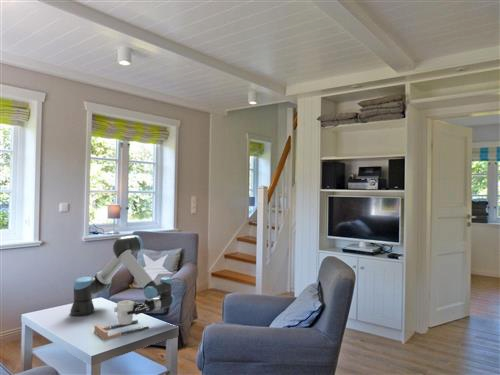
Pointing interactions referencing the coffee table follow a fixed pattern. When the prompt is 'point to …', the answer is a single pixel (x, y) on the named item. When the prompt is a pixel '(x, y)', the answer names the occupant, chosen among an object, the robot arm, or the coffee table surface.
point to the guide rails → (132, 329)
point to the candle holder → (123, 307)
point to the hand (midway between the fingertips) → (118, 311)
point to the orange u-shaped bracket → (104, 332)
